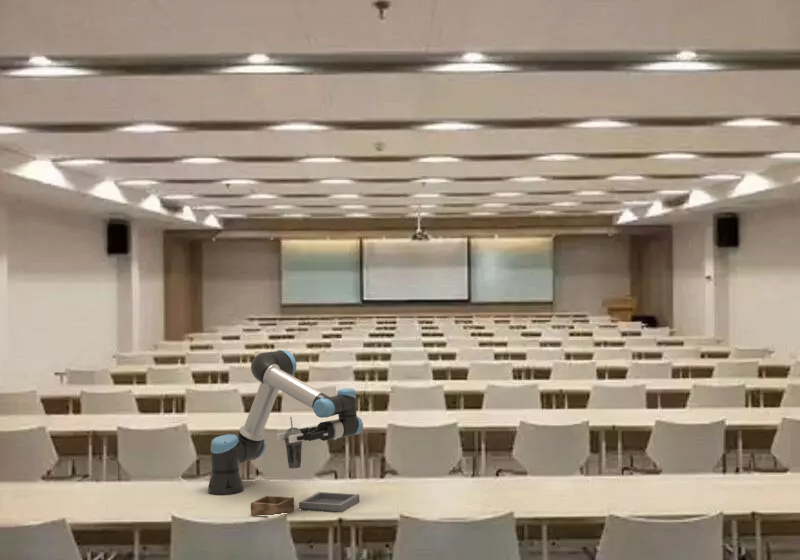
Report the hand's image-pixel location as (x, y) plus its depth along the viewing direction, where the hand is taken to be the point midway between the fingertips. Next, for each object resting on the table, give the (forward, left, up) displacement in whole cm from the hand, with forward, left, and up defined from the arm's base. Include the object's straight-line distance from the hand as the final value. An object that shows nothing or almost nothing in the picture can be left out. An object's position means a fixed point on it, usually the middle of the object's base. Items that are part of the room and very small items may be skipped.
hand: (283, 438), depth 380 cm
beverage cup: (+2, +4, -12) cm, 13 cm away
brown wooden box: (-5, 0, -29) cm, 30 cm away
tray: (+12, +16, -29) cm, 35 cm away
